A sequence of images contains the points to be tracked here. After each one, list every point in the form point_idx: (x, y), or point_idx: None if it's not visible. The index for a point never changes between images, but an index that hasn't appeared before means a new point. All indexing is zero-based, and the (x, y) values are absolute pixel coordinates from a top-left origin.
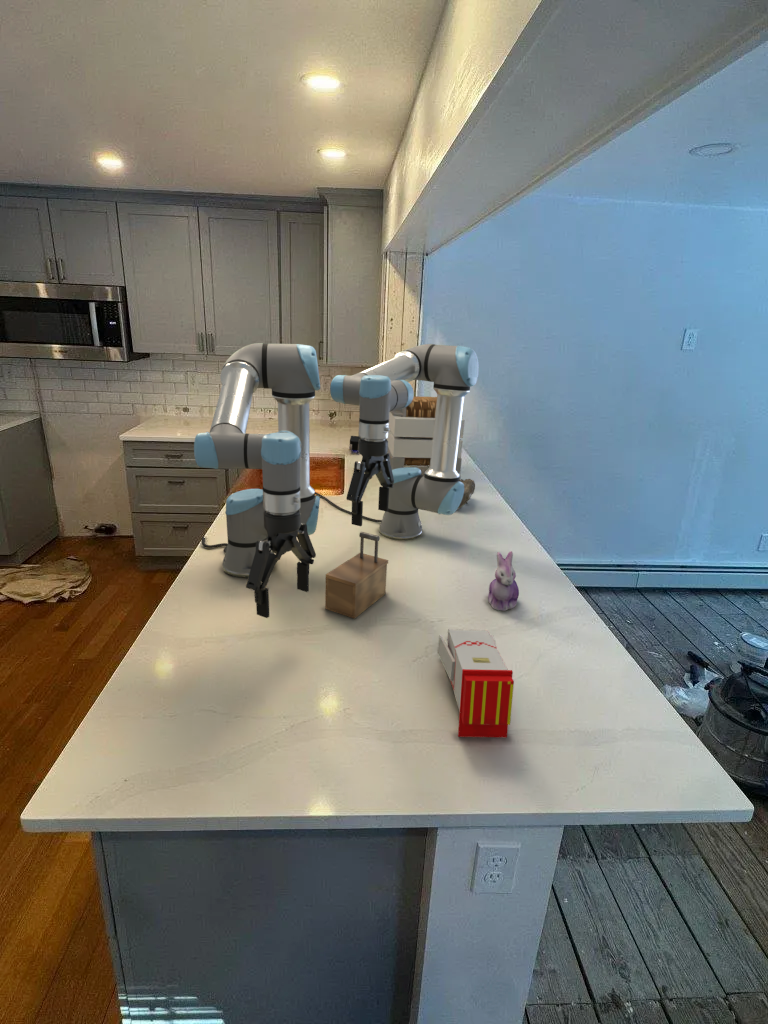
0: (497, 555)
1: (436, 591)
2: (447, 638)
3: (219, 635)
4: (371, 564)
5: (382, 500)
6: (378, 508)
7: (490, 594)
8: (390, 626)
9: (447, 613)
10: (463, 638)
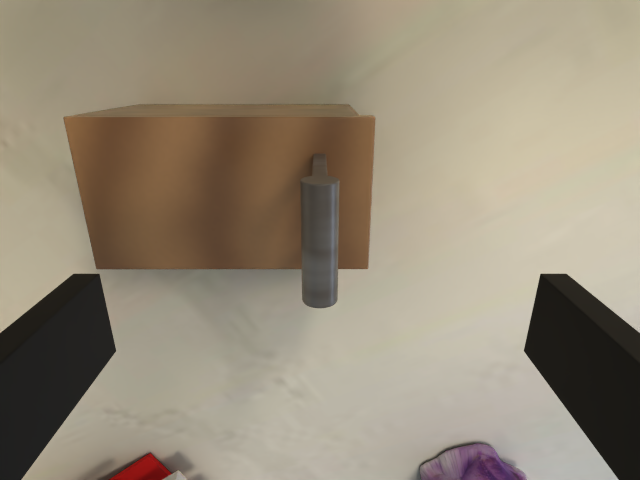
0: None
1: (444, 330)
2: (177, 473)
3: None
4: (285, 232)
5: (591, 374)
6: (546, 281)
7: (462, 465)
8: (191, 313)
9: (340, 394)
10: None
